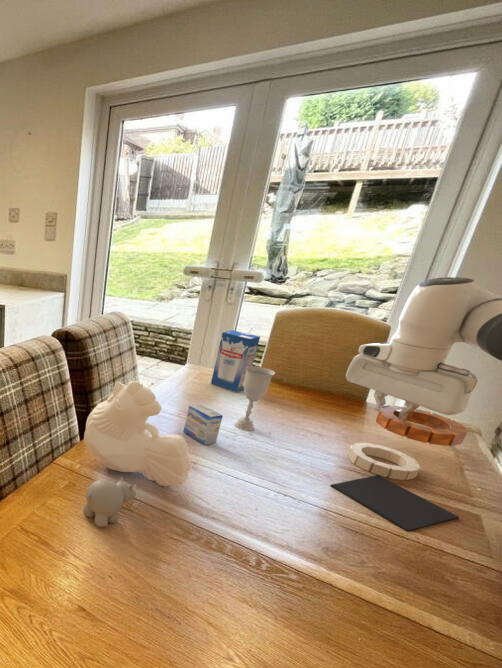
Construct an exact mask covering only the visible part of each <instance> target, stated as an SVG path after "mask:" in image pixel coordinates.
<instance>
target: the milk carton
mask: <svg viewBox="0 0 502 668" xmlns="http://www.w3.org/2000/svg"><path fill="white" fill-rule="evenodd" d="M260 339H261V336H260V335H255V334H251V333H248V332H247V333H246V332H242V331H237V330H233V329H232V330H228V331H223V332H222V333H221V338H220V342H219V345H218V350H217V354H216V359H215V362H214V366H213V367H214V368H213V372H212V377H211V380H210V384H211V383H213V384H212V385H214V384H215V385H214V386H217V385H218V386H217V387H219V388H222V387H223V389H225V388H226V390H228V389H229V391H231V390H232V391H231V392H234V391H235V392H234V393H239V392H241V390H242V391H244V380H245V376H246V372H247V371H246V367H247V366H254V362H255V357H256V353H257V350H258V346H259V342H260ZM238 391H239V392H238Z"/></svg>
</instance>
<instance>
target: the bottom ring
mask: <svg viewBox="0 0 502 668" xmlns="http://www.w3.org/2000/svg"><path fill="white" fill-rule="evenodd" d="M370 456H371V457H370ZM346 457H347V459H348V460H349V461H350V462H351V463H352V464H354V465H355V466H357V467H358V468H361V469H363V470H365V471H366V472H370V473H371V474H374V475H379V476H381V477H383V478H387V477H388V478H389V479H394V480H400V481H408V480H413V479H416V478H417V476H418V474H419V472H420V470H421V465H420V463H419V462H418V461H417V460H416V459H414V458H413V457H412V456H409V455H408V454H406V453H404V452H402V451H399V450H397V449H393V448H391V447H388V446H386V445H385V446H384V445H380V444H376V443H371V442H370V443H369V442H355V443H352V444H350V447H349V450H348V452H347V455H346ZM372 457H377V458H380V459H383V460H387V461H389V462H392V463H394V464H388V463H385V462H381V461H378V460H376V459H373V458H372ZM395 464H396V465H395Z"/></svg>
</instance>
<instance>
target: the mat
mask: <svg viewBox="0 0 502 668" xmlns="http://www.w3.org/2000/svg"><path fill="white" fill-rule="evenodd" d="M330 487H331V488H332V489H334V490H336V491H338V492H339V493H341V494H343V495H345V496H347V498H350V499H352V500H353V501H355V502H356V503H358V504H360V505H362V506H363V507H365V508H367V509H368V510H371V511H372V512H373V513H376V514H377V515H379V516H381V517H382V518H383V519H385V520H387V521H389V522H390V523H392V524H394V525H395V526H397V527H398V528H400V529H402V530H404V531H406V532H407V533H409V532H411V531H416V530H419V529H424V528H427V527H430V526H434V525H438V524H442V523H446V522H449V521H453V520H457V519H459V518H460V516H459V515H457V514H454V513H453V512H451V511H449V510H447V509H445V508H443V507H442V506H439V505H437V504H435V503H434V502H432V501H429V500H428V499H426V498H423V497H421V496H419V495H417V494H416V493H414V492H412V491H410V490H408V489H406V488H404V487H402V486H400V485H398V484H396V483H394V482H392V481H390V480H388V479H387V478H385V477H384V476H381V475H377V474H375V475H370V476H366V477H362V478H356V479H351V480H348V481H342V482H337V483H333V484H330Z"/></svg>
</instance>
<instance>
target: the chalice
mask: <svg viewBox="0 0 502 668" xmlns="http://www.w3.org/2000/svg"><path fill="white" fill-rule="evenodd" d="M246 371H247V372H246V376H245V380H244V390H243V391H244V394H245V397H246V399H247V400H249V401H248V404H246V406H247V408H246V410H245V416H243V417H240V418H239V419H238V420H237V421H236V422H234V426H235V425H236V426H237V428H238V429H240V428H241V430H242V431H249V432H250V431H254V430H255V425H254V421H253V420H252V419H251V418H250V416H251V414H253V412H252V409H253V408H254V402H257V401H259V400H260V399H261V398H262V397H263V396H264V395H265V394H266V393H267V392H268V390H269V388H270V384H271V381H272V378H273V377H274V375H275V374H276V372H275V371H274V370H272V369H270V368H266V367H263V366H256V365H252V366H247V367H246ZM236 426H235V427H236Z"/></svg>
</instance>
